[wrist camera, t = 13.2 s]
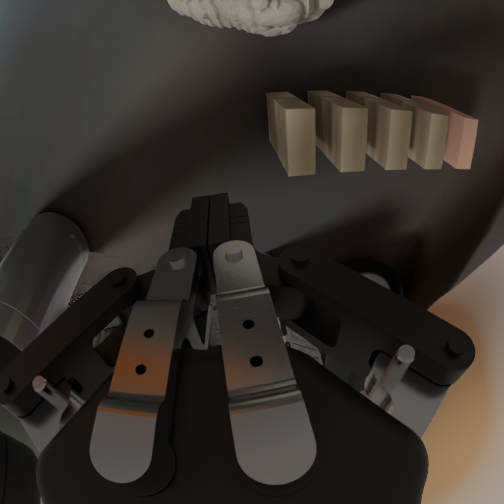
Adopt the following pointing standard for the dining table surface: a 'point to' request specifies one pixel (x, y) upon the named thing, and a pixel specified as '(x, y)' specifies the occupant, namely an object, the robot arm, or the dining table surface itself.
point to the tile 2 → (340, 129)
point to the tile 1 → (292, 132)
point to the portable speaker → (383, 277)
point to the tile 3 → (385, 130)
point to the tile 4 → (424, 132)
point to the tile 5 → (455, 134)
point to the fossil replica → (253, 13)
